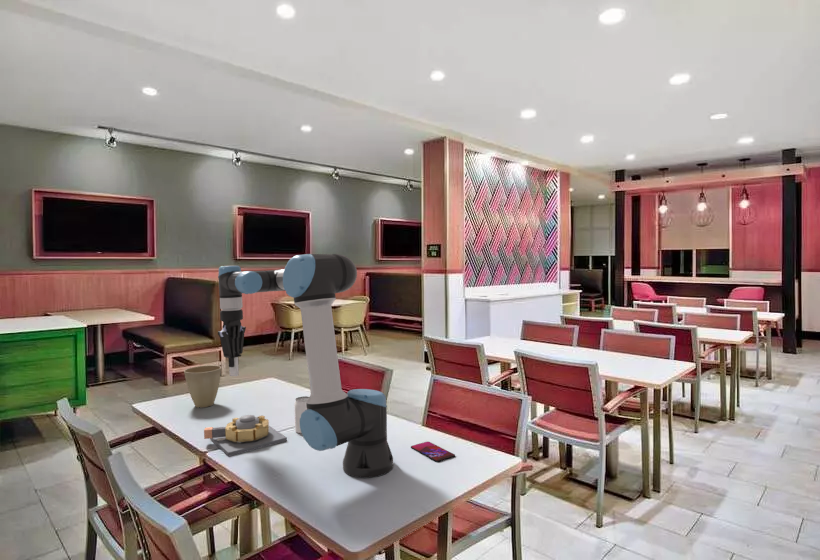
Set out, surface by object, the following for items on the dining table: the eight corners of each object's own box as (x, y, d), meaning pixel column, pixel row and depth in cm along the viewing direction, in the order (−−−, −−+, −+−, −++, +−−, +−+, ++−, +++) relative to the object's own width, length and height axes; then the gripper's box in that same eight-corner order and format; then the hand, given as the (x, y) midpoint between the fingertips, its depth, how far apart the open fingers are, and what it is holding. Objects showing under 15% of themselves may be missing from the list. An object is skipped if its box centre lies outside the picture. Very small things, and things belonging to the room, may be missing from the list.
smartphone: (428, 440, 167) (456, 454, 154) (428, 443, 167) (456, 457, 154) (409, 446, 162) (436, 461, 150) (409, 448, 162) (436, 464, 150)
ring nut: (269, 425, 180) (269, 413, 180) (267, 439, 166) (266, 426, 166) (208, 431, 175) (208, 418, 175) (201, 445, 162) (200, 432, 161)
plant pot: (229, 400, 219) (228, 365, 218) (208, 411, 204) (207, 373, 204) (200, 399, 222) (198, 364, 221) (177, 409, 208) (176, 372, 207)
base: (286, 440, 170) (286, 418, 170) (228, 456, 158) (227, 431, 157) (264, 425, 186) (264, 404, 185) (209, 438, 173) (209, 416, 173)
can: (309, 434, 176) (308, 401, 175) (292, 433, 177) (291, 400, 176) (316, 428, 182) (315, 396, 181) (299, 427, 183) (298, 395, 183)
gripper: (233, 307, 181) (236, 371, 182) (210, 311, 168) (213, 379, 169) (251, 307, 179) (254, 371, 180) (228, 311, 166) (231, 380, 167)
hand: (234, 375), depth 174 cm, fingers closed
